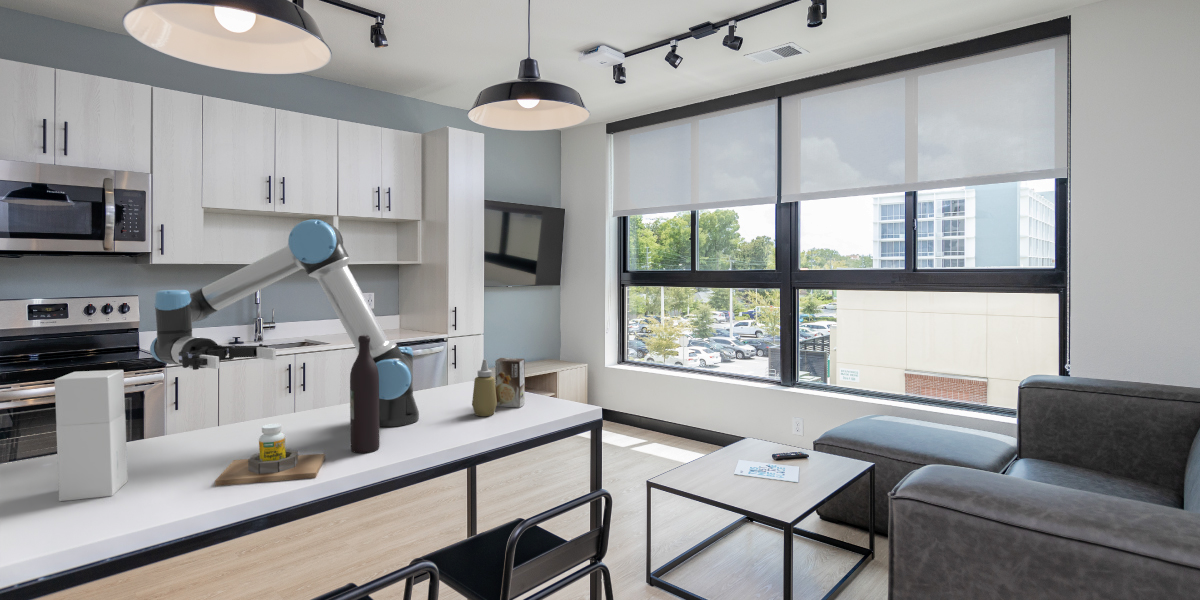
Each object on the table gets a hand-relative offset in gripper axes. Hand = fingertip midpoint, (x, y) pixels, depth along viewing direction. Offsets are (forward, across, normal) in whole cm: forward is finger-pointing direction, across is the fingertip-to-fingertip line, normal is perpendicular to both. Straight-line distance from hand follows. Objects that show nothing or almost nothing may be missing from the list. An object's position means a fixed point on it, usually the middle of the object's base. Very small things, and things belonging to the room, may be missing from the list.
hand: (247, 358), depth 142 cm
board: (+8, 0, -26) cm, 27 cm away
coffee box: (+16, -81, -28) cm, 87 cm away
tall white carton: (-12, +26, -26) cm, 39 cm away
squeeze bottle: (+17, -66, -27) cm, 74 cm away
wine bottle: (+14, -22, -27) cm, 37 cm away
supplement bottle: (+8, 0, -25) cm, 26 cm away
